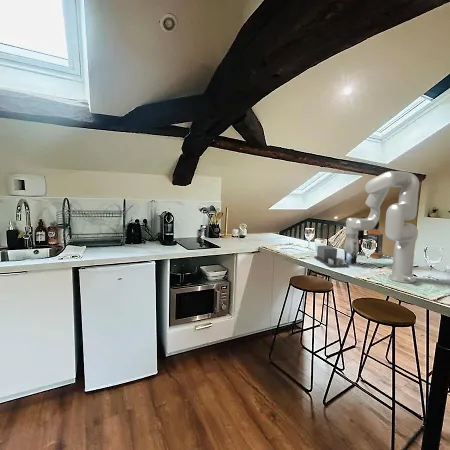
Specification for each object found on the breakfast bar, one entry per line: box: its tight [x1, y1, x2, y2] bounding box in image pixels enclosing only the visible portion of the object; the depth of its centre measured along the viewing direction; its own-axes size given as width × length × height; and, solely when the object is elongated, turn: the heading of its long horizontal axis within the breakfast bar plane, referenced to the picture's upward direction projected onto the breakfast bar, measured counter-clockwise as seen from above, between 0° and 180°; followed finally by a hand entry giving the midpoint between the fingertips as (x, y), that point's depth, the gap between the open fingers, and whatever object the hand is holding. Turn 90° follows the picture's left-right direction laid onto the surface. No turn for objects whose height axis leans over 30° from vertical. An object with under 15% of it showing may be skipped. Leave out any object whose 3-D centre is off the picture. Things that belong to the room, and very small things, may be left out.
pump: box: [345, 253, 355, 267], centre depth 184 cm, size 5×5×9 cm
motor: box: [314, 245, 349, 269], centre depth 191 cm, size 29×12×10 cm, turn 4°
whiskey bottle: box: [366, 221, 385, 260], centre depth 207 cm, size 10×10×32 cm
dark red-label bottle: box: [358, 216, 366, 254], centre depth 216 cm, size 14×9×30 cm
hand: (350, 262), depth 185 cm, fingers open, 8 cm apart
